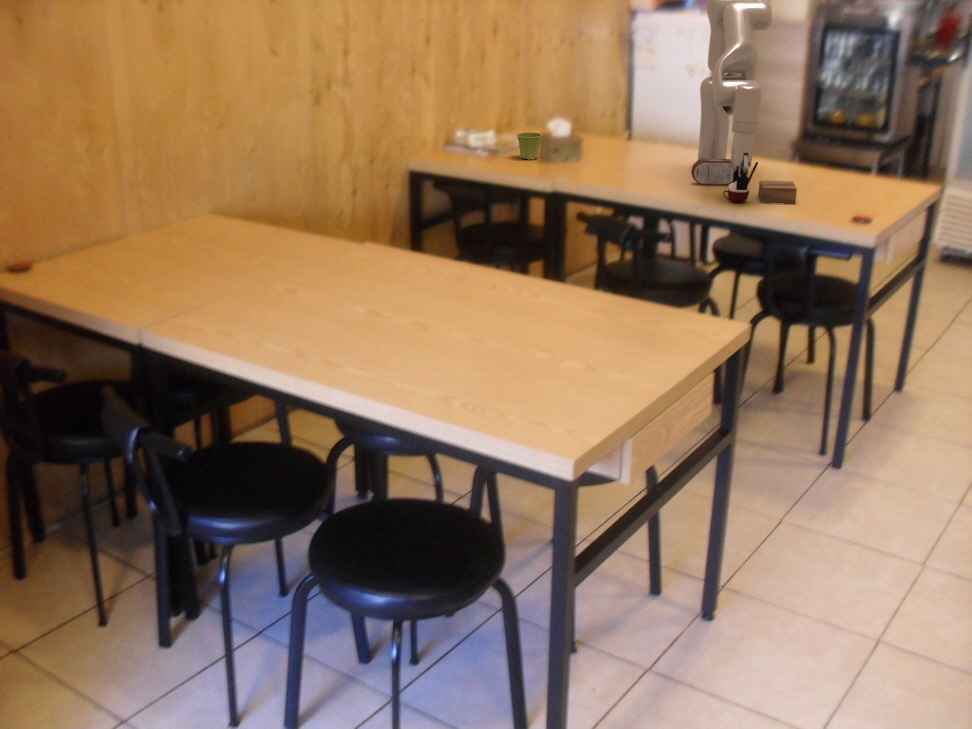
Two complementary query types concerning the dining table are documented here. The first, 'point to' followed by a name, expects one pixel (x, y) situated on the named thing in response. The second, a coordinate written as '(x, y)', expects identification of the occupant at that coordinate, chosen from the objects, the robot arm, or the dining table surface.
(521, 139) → the plant pot
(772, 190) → the walnut block
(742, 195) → the cocoa
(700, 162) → the tin
